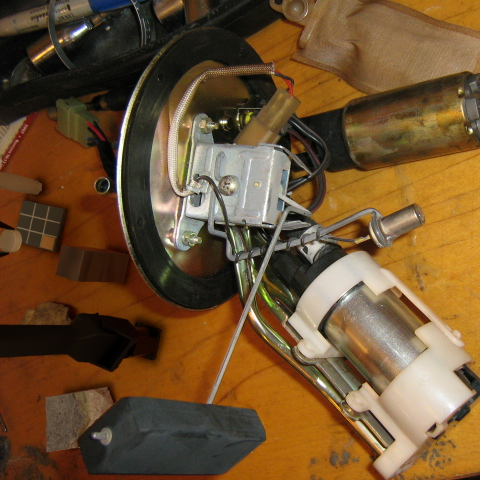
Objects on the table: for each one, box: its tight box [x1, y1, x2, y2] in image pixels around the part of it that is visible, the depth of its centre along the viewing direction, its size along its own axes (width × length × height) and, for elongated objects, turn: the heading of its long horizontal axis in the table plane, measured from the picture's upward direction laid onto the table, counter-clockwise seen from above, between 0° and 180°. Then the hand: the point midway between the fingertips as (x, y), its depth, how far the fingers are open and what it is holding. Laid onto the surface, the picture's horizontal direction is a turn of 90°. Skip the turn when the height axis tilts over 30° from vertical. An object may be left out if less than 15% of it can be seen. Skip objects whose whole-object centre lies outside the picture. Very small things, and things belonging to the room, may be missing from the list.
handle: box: [0, 171, 43, 195], centre depth 103 cm, size 5×6×15 cm
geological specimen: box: [44, 386, 115, 453], centre depth 94 cm, size 11×6×15 cm
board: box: [15, 199, 68, 253], centre depth 107 cm, size 14×10×1 cm
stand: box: [55, 244, 131, 284], centre depth 93 cm, size 6×6×12 cm
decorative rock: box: [19, 301, 75, 357], centre depth 101 cm, size 11×4×15 cm
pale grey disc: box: [0, 229, 23, 254], centre depth 91 cm, size 5×5×1 cm
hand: (10, 240), depth 91 cm, fingers closed on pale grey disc, 4 cm apart
